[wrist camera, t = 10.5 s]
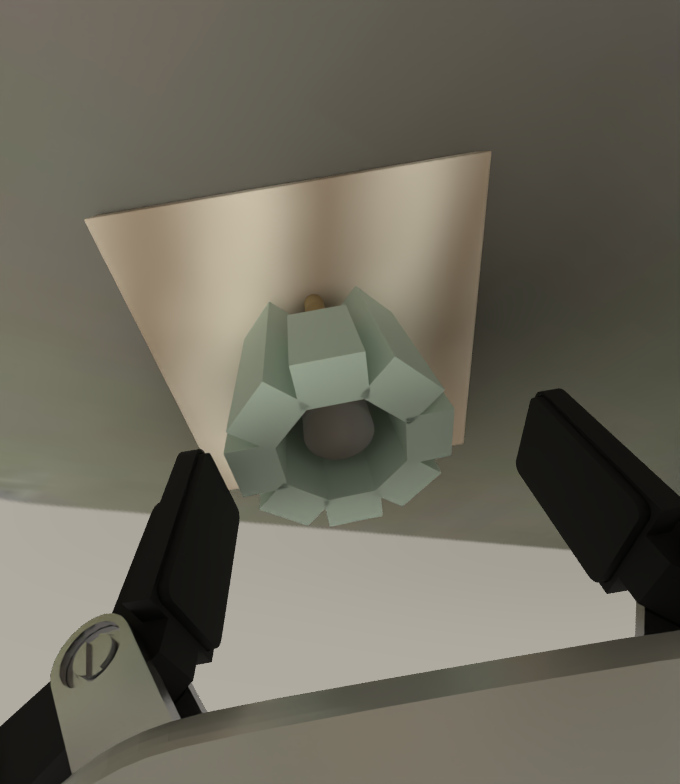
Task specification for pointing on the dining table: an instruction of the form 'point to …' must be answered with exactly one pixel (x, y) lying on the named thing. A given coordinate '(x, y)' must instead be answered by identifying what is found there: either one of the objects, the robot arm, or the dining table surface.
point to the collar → (330, 387)
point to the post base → (304, 280)
